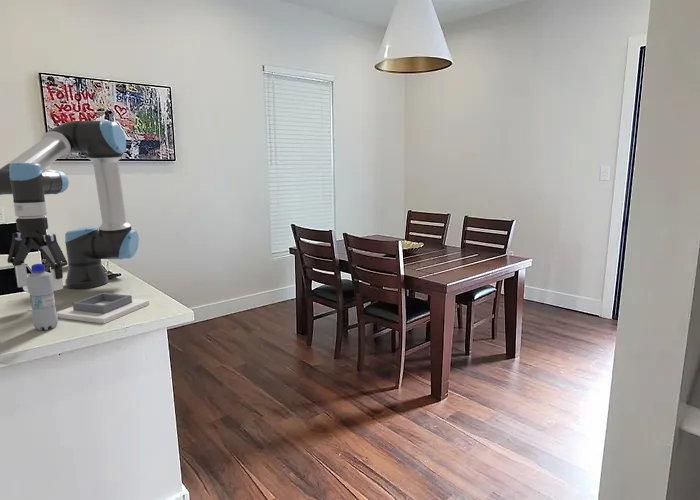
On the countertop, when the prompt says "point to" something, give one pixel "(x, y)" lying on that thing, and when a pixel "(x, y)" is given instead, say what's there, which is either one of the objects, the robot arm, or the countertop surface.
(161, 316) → the countertop surface
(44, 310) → the bottle
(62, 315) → the dock
